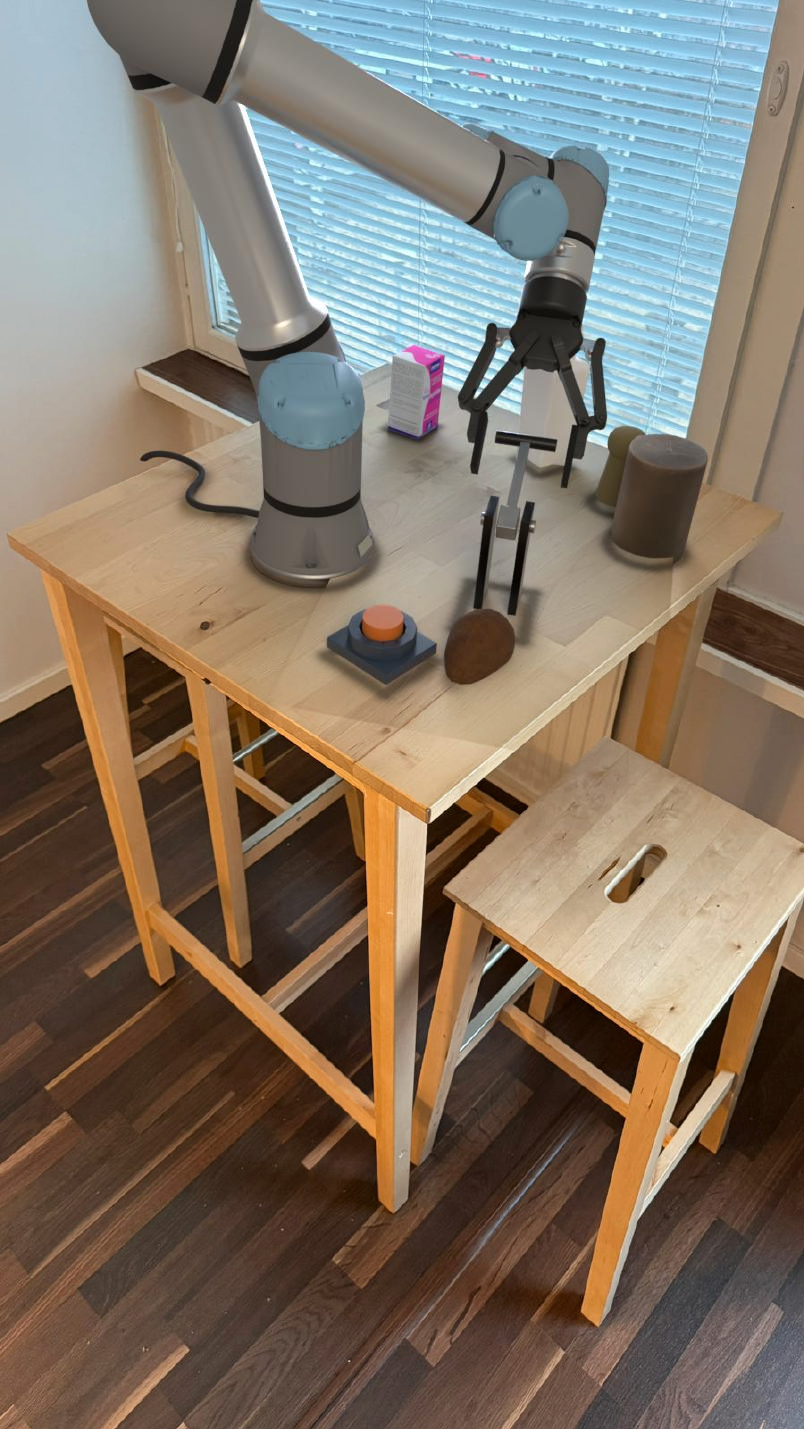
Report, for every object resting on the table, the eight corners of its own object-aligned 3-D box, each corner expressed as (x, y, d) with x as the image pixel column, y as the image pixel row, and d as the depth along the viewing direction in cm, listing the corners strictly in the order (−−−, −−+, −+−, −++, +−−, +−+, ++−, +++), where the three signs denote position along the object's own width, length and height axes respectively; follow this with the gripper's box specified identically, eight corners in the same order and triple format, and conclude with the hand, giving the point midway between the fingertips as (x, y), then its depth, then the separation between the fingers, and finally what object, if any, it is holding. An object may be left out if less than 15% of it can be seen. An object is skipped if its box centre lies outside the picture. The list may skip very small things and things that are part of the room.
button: (353, 629, 110) (353, 616, 109) (381, 612, 113) (382, 599, 112) (383, 647, 108) (383, 634, 107) (411, 630, 111) (412, 617, 109)
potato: (423, 681, 111) (428, 629, 106) (469, 633, 118) (475, 582, 113) (481, 705, 108) (488, 653, 104) (524, 654, 115) (532, 603, 110)
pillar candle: (657, 576, 128) (685, 468, 118) (593, 545, 133) (615, 439, 123) (697, 547, 134) (727, 442, 124) (634, 519, 139) (658, 415, 129)
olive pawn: (634, 495, 143) (651, 422, 136) (637, 518, 139) (655, 443, 132) (591, 491, 144) (605, 418, 136) (593, 513, 139) (608, 438, 132)
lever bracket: (470, 582, 125) (481, 481, 116) (534, 593, 124) (551, 492, 115) (454, 629, 118) (465, 525, 109) (523, 641, 117) (540, 537, 108)
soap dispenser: (546, 449, 153) (569, 299, 138) (573, 468, 148) (600, 315, 134) (510, 458, 150) (530, 306, 135) (537, 478, 146) (561, 323, 131)
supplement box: (419, 441, 152) (424, 366, 145) (386, 429, 155) (389, 355, 147) (439, 427, 156) (445, 353, 149) (407, 416, 158) (411, 343, 151)
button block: (326, 656, 113) (326, 623, 110) (376, 626, 118) (378, 594, 115) (385, 695, 109) (387, 662, 106) (435, 662, 113) (438, 629, 110)
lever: (496, 438, 119) (497, 425, 117) (556, 447, 118) (558, 434, 116) (474, 534, 114) (474, 522, 112) (536, 544, 113) (537, 532, 111)
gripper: (457, 260, 116) (419, 451, 114) (657, 286, 113) (620, 482, 111) (462, 292, 123) (426, 472, 122) (649, 317, 120) (614, 502, 119)
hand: (518, 477), depth 117 cm, fingers open, 10 cm apart
